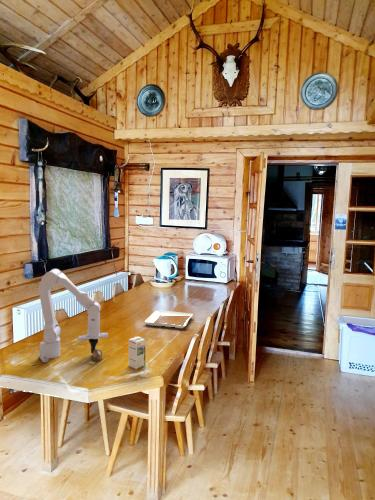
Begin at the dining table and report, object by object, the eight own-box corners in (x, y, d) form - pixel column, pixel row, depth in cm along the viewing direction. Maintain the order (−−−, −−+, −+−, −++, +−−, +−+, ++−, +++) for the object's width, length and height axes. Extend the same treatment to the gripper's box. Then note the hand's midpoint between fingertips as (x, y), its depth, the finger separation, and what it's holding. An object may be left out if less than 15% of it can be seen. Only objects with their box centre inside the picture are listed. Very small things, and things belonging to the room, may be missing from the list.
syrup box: (136, 372, 171) (136, 342, 170) (128, 367, 175) (128, 338, 174) (145, 368, 176) (146, 339, 174) (137, 364, 180) (137, 335, 178)
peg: (95, 363, 175) (95, 354, 175) (89, 354, 186) (90, 345, 185) (104, 362, 177) (104, 353, 177) (98, 353, 188) (98, 344, 187)
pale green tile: (90, 361, 178) (90, 361, 178) (95, 362, 177) (95, 362, 177) (87, 363, 176) (87, 362, 176) (92, 364, 175) (92, 363, 175)
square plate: (155, 314, 263) (155, 309, 262) (193, 318, 257) (193, 313, 257) (143, 326, 236) (143, 320, 236) (185, 331, 231) (185, 325, 230)
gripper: (81, 330, 176) (80, 358, 178) (110, 327, 184) (109, 353, 185) (77, 326, 182) (76, 352, 184) (105, 323, 190) (105, 348, 191)
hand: (93, 352), depth 185 cm, fingers closed, pressing on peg
